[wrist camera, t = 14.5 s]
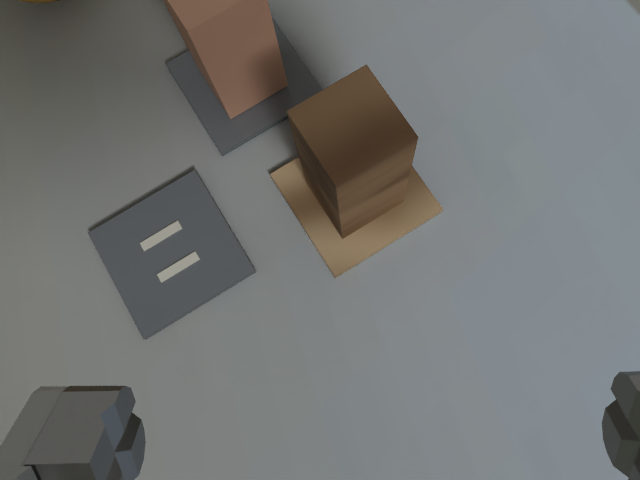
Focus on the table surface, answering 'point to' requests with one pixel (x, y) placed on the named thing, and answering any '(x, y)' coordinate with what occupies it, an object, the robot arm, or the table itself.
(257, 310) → the table surface
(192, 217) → the slate tile
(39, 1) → the stress ball
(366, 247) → the cork pad
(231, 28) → the terracotta pillar
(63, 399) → the robot arm
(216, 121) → the slate tile
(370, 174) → the walnut pillar
